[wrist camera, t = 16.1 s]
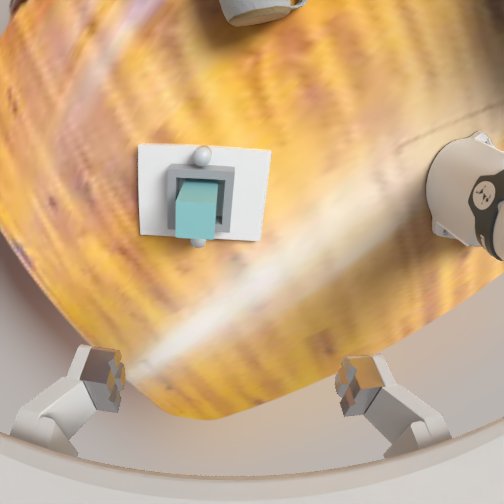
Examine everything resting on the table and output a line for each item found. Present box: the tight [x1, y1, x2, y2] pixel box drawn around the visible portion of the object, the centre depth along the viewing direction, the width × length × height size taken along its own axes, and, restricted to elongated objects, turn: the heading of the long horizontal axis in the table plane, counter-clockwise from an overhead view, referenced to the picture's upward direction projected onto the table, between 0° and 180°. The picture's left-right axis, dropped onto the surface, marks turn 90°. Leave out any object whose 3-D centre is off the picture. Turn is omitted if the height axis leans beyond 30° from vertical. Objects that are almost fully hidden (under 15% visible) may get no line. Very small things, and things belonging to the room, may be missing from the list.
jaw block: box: [176, 178, 218, 240], centre depth 35 cm, size 4×4×8 cm
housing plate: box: [138, 143, 271, 248], centre depth 38 cm, size 16×12×4 cm
